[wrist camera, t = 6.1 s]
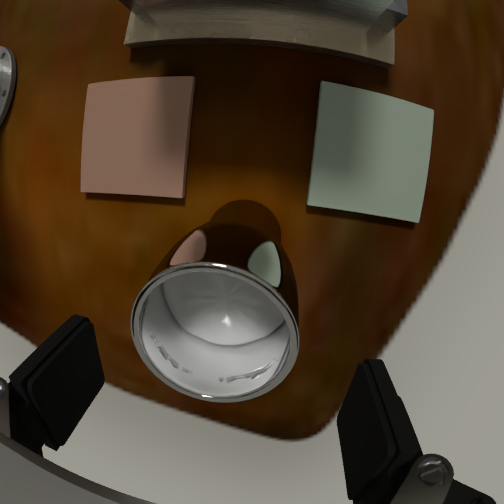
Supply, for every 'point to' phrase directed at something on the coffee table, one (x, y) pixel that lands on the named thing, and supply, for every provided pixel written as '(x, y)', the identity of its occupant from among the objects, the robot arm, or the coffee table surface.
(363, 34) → the grey unit
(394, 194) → the sage pad
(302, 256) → the coffee table surface
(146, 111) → the terracotta pad
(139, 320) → the chrome vase
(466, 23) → the coffee table surface
